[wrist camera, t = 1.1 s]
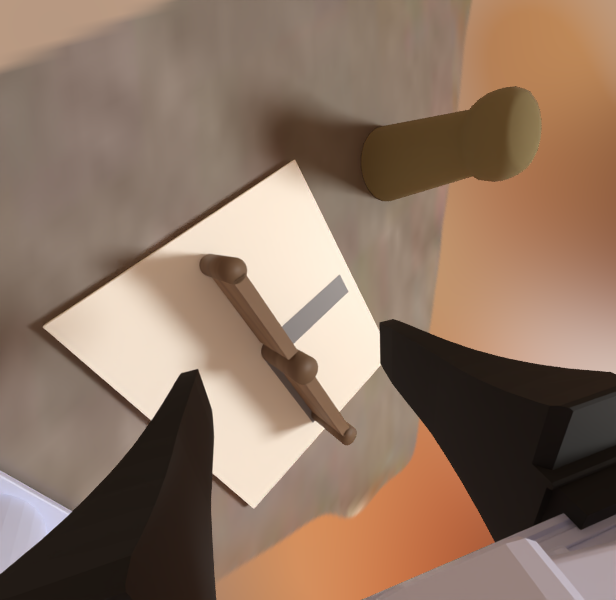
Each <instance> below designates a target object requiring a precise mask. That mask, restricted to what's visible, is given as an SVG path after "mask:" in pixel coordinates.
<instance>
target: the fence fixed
mask: <svg viewBox="0 0 616 600" xmlns="http://www.w3.org/2000/svg"><path fill="white" fill-rule="evenodd" d="M297 350H298V349H297ZM261 354H262V357H263V358H264V359H265V360H266V361H267V362H269V363H270V364H272V365H273V366H274V367H276V368H277V369H279V370H280V371H281V372H283V374H284V375H285V376H286V378H287V379H288V380H289V382H290V383H291V384H292V386H293V387H294V388H295V390H296V391H297V392H298V394H299V395H300V396H301V398H302V399H303V400H304V402H305V403H306V404H307V406H308V407H309V408H310V410H311V411H312V413H311V416H312V418H313V419H314V420H315V421H316V422H317V423H319V424H320V425H321V426H322V427H323V428H325V429H326V430H327V431H328V432H330V433H331V434H332V435H333V436H334V437H336V438H337V439H338V440H339V441H340V442H342V443H343V444H344V445H350V444H351V443H352V442H353V441H354V440H355V438H356V434H357V431H356V429H355V428H354V427H353V426H351V425H350V424H349V423H347V422H346V421H345V420H344V418H343V417H342V415H341V414H340V412H339V411H338V409H337V408H336V406H335V405H334V403H333V402H332V401H331V399H330V398H329V396H328V395H327V393H326V392H325V390H324V389H323V387H322V386H321V384H320V383H319V381H318V380H317V379H316V377H315V376H316V375H317V372H318V363H317V361H316V360H315V359H314V358H313V357H311V356H309V355H307V354H305V353H304V352H302V351H300V350H298V352H297V353H296V354H295V355H294V356H293V357H291V358H290V359H289V360H288V359H286V358H285V357H283V356H282V355H280V354H278V353H277V352H275V351H274V350H272V349H270V348H269V347H267V346H266V345H264V344H263V346H262V349H261Z"/></svg>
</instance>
